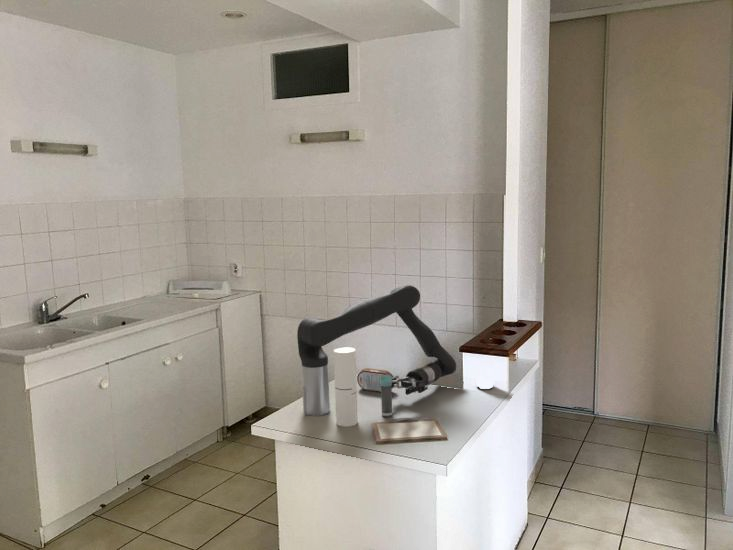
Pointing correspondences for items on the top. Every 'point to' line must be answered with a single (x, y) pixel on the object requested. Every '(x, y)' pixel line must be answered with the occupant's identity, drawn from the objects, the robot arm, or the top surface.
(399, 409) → the top surface
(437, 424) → the clipboard
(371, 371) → the tin
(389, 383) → the marker
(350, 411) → the cylindrical container
